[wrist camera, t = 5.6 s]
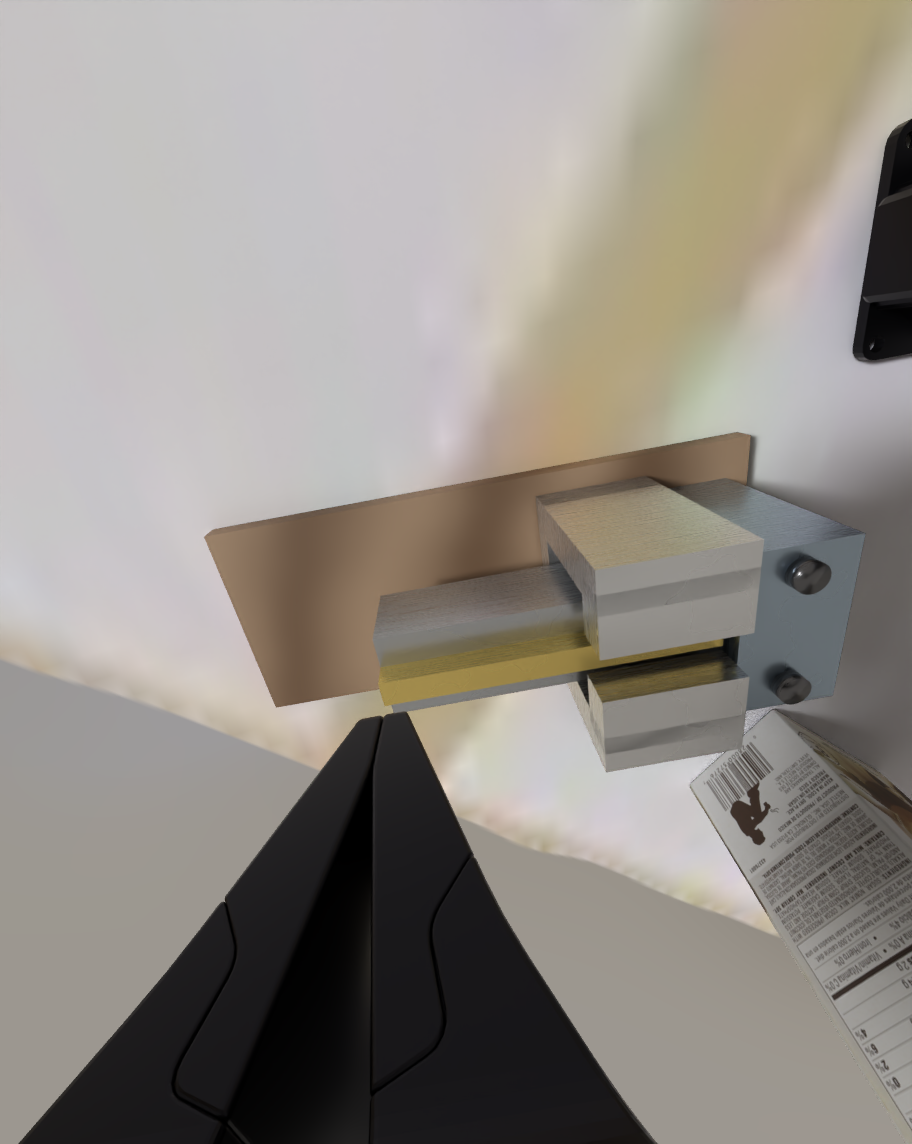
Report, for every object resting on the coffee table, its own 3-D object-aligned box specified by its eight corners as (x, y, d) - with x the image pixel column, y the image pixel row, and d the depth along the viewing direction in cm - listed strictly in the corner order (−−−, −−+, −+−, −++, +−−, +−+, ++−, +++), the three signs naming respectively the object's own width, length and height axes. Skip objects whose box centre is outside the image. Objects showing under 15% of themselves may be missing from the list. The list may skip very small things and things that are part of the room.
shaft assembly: (407, 655, 20) (399, 782, 14) (377, 542, 18) (353, 633, 12) (717, 600, 20) (843, 704, 14) (725, 477, 18) (879, 538, 12)
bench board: (737, 432, 18) (750, 435, 17) (723, 616, 21) (734, 625, 20) (213, 529, 18) (204, 536, 17) (281, 695, 21) (276, 707, 21)
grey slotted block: (551, 647, 20) (606, 772, 14) (535, 495, 17) (595, 570, 11) (646, 630, 20) (741, 748, 14) (645, 475, 17) (763, 539, 11)
